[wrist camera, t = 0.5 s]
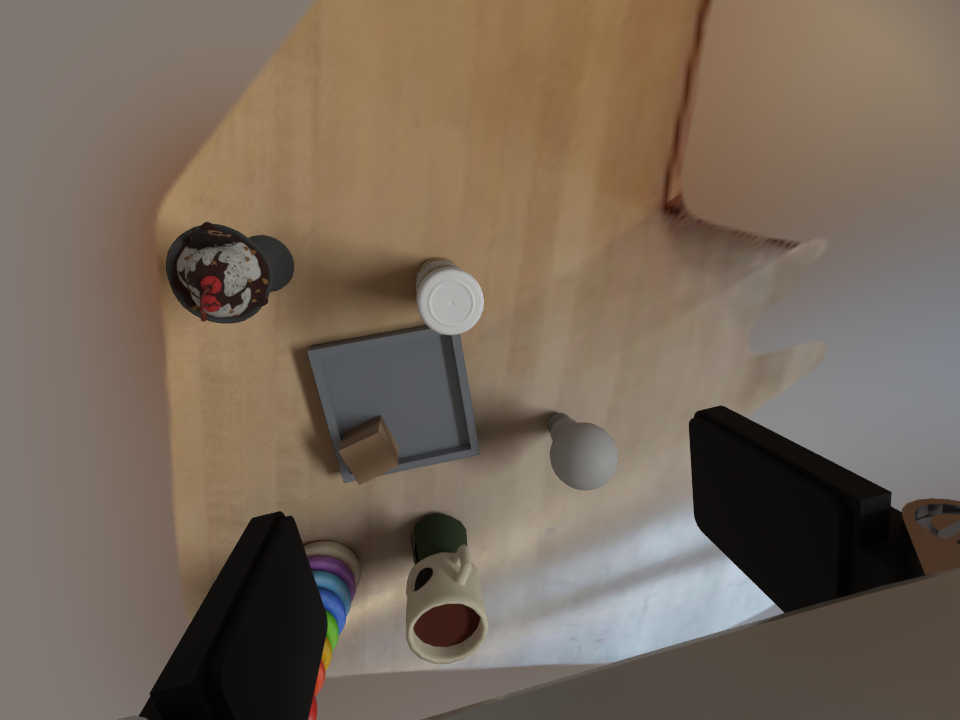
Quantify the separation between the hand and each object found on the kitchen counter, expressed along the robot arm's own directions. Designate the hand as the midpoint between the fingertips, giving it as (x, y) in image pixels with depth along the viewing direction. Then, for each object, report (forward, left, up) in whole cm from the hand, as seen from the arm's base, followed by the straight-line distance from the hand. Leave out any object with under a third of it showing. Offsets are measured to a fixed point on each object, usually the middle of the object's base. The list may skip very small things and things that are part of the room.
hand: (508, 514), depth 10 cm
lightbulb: (+16, +11, -35) cm, 40 cm away
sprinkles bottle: (-1, +1, -35) cm, 35 cm away
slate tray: (+10, -5, -35) cm, 36 cm away
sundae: (-5, -14, -35) cm, 38 cm away
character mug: (+27, -4, -35) cm, 44 cm away
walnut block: (+13, -9, -34) cm, 37 cm away
